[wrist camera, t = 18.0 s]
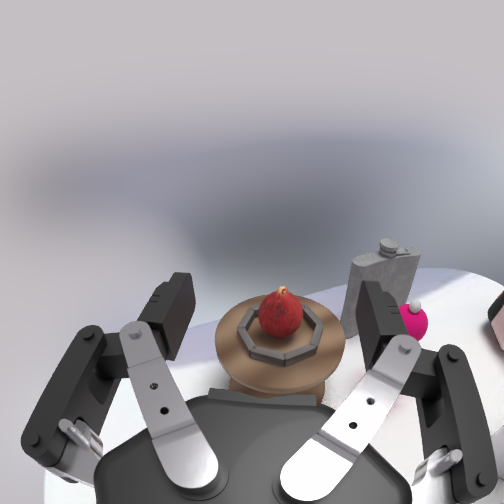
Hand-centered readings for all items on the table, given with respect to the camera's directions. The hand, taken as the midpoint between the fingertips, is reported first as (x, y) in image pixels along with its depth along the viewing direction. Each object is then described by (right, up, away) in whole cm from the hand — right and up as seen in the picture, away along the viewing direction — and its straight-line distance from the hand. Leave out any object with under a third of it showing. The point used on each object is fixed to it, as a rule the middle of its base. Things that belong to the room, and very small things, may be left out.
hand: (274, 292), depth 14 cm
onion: (+3, -10, +26) cm, 28 cm away
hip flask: (+24, -14, +45) cm, 53 cm away
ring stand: (+3, -21, +33) cm, 39 cm away
